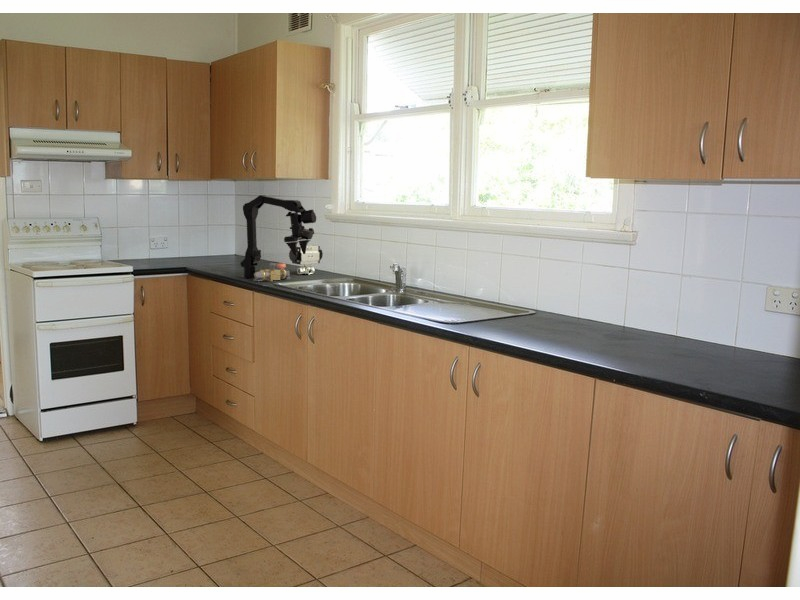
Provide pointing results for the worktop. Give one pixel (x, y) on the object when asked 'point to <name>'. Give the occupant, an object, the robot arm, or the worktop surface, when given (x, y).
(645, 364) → the worktop surface
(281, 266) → the lever
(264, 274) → the valve body
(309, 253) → the ball valve
